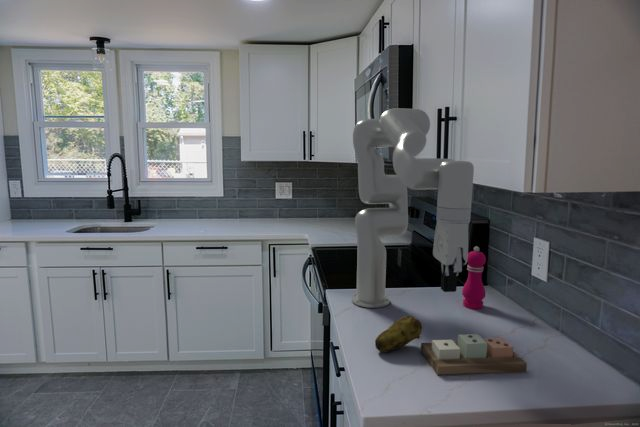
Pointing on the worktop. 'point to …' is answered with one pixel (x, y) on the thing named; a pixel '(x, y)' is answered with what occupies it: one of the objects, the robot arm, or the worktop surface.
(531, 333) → the worktop surface
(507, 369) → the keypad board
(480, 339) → the two-pip tile
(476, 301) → the pepper mill
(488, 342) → the three-pip tile
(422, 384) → the worktop surface
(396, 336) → the potato
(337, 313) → the worktop surface
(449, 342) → the one-pip tile
